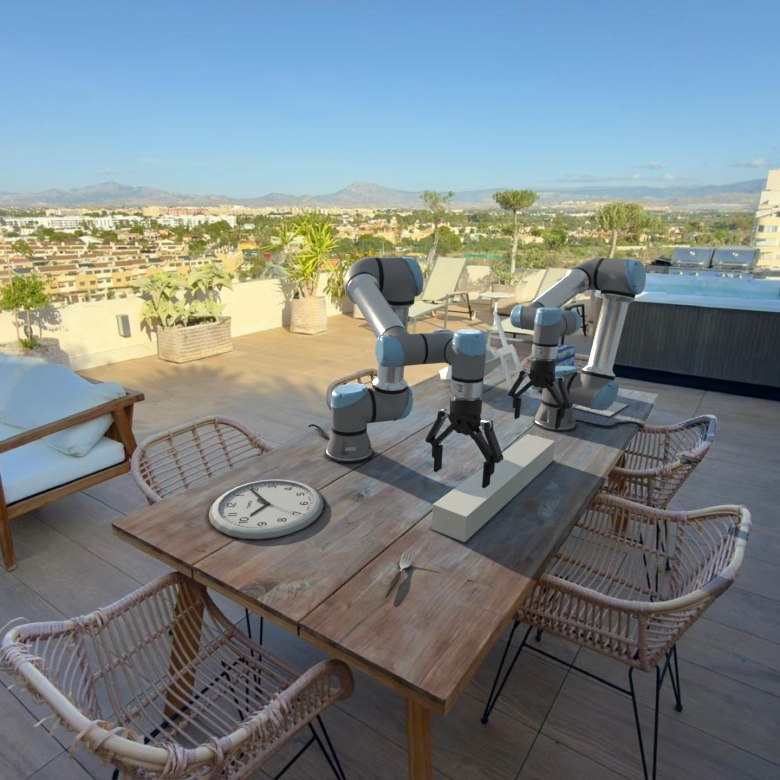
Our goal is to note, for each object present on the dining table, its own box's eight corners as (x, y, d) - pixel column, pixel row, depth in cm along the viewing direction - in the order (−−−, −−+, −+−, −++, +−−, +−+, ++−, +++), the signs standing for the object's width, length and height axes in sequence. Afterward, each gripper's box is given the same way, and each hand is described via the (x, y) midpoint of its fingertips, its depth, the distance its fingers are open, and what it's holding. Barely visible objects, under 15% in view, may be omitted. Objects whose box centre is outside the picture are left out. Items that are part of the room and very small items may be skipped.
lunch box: (547, 396, 238) (552, 351, 232) (526, 391, 246) (531, 347, 239) (574, 385, 256) (579, 343, 250) (554, 380, 263) (559, 340, 257)
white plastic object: (461, 429, 252) (437, 405, 227) (444, 352, 274) (420, 323, 250) (535, 404, 240) (518, 377, 215) (510, 326, 262) (492, 293, 237)
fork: (379, 598, 107) (379, 590, 107) (404, 554, 122) (404, 547, 121) (391, 601, 106) (391, 593, 106) (415, 557, 121) (415, 549, 120)
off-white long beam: (525, 453, 178) (527, 433, 176) (553, 460, 173) (555, 440, 171) (431, 529, 132) (432, 504, 130) (464, 542, 127) (466, 516, 125)
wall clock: (321, 531, 127) (194, 535, 125) (321, 537, 128) (195, 541, 125) (325, 475, 156) (222, 477, 153) (325, 480, 156) (222, 482, 154)
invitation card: (608, 416, 214) (573, 407, 224) (608, 416, 214) (573, 408, 224) (628, 404, 229) (594, 396, 238) (628, 405, 229) (594, 397, 238)
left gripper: (413, 389, 127) (411, 468, 134) (508, 411, 113) (500, 499, 119) (430, 383, 133) (427, 459, 139) (522, 403, 119) (514, 487, 125)
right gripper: (501, 354, 165) (495, 417, 172) (580, 367, 151) (571, 435, 157) (511, 350, 171) (505, 411, 177) (588, 362, 157) (579, 428, 163)
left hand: (461, 477), depth 129 cm, fingers open, 13 cm apart
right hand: (536, 422), depth 167 cm, fingers open, 13 cm apart
